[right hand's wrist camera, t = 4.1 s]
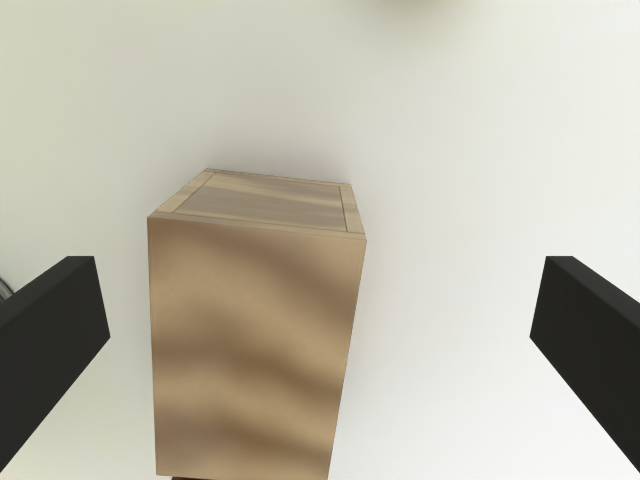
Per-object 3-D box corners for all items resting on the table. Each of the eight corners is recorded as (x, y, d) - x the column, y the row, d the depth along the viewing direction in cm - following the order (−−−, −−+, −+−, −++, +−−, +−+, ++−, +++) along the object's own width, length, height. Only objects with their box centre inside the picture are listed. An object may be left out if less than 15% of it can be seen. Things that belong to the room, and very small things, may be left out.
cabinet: (324, 372, 38) (325, 489, 27) (202, 361, 37) (155, 475, 27) (351, 184, 31) (366, 240, 21) (205, 168, 31) (146, 216, 20)
